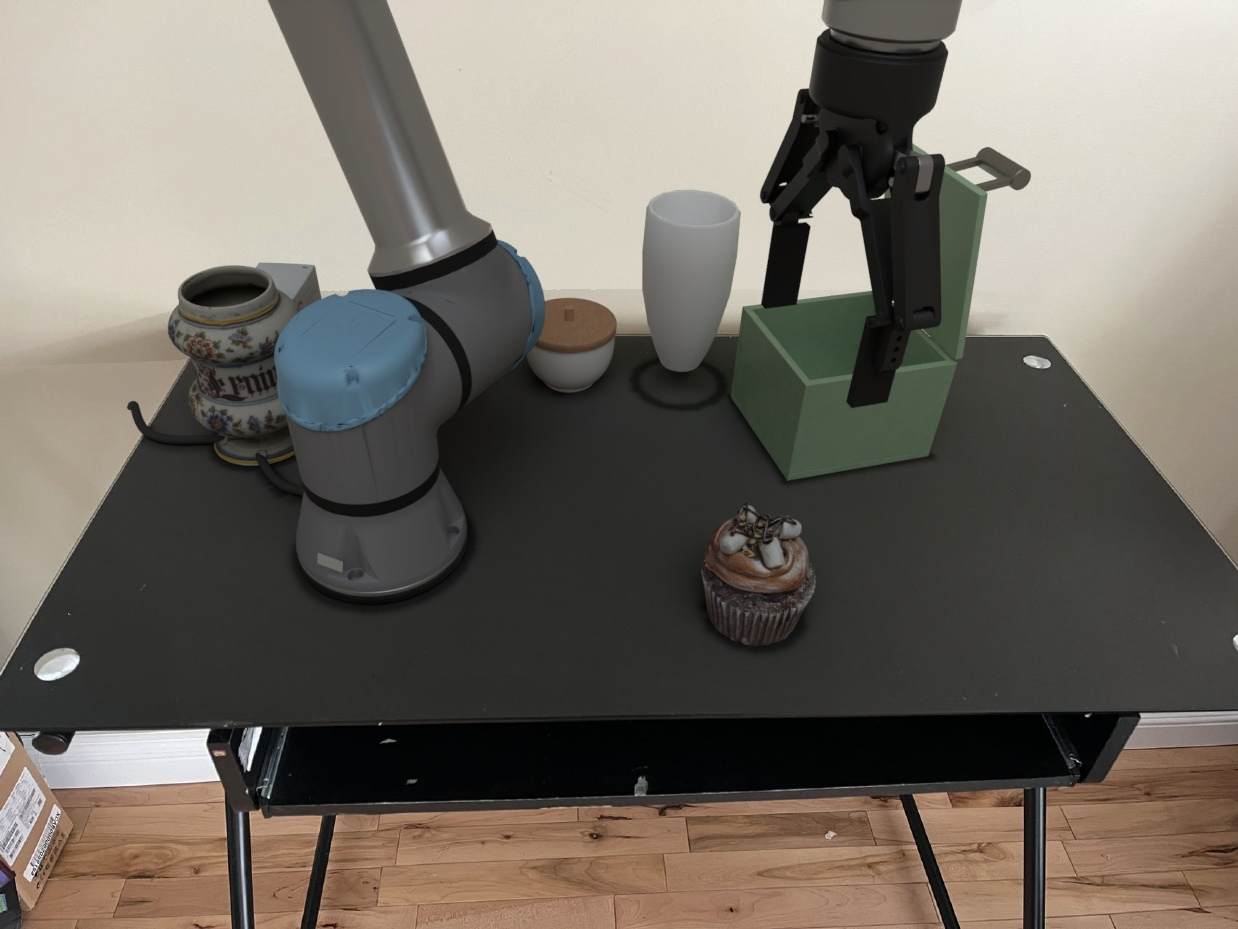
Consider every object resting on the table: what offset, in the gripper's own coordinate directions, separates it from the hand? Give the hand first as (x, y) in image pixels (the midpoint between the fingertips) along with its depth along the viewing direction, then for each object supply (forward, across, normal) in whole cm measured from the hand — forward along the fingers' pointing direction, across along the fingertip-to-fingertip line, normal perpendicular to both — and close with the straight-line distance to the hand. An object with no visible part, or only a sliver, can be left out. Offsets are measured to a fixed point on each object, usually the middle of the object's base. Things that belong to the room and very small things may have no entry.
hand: (819, 350), depth 66 cm
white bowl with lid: (+25, -37, -8) cm, 46 cm away
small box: (+25, -44, -39) cm, 64 cm away
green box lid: (+4, -21, +23) cm, 31 cm away
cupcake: (+25, +2, -3) cm, 25 cm away
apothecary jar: (+25, -35, -43) cm, 60 cm away
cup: (+25, -33, +4) cm, 42 cm away
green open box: (+25, -21, +17) cm, 37 cm away
